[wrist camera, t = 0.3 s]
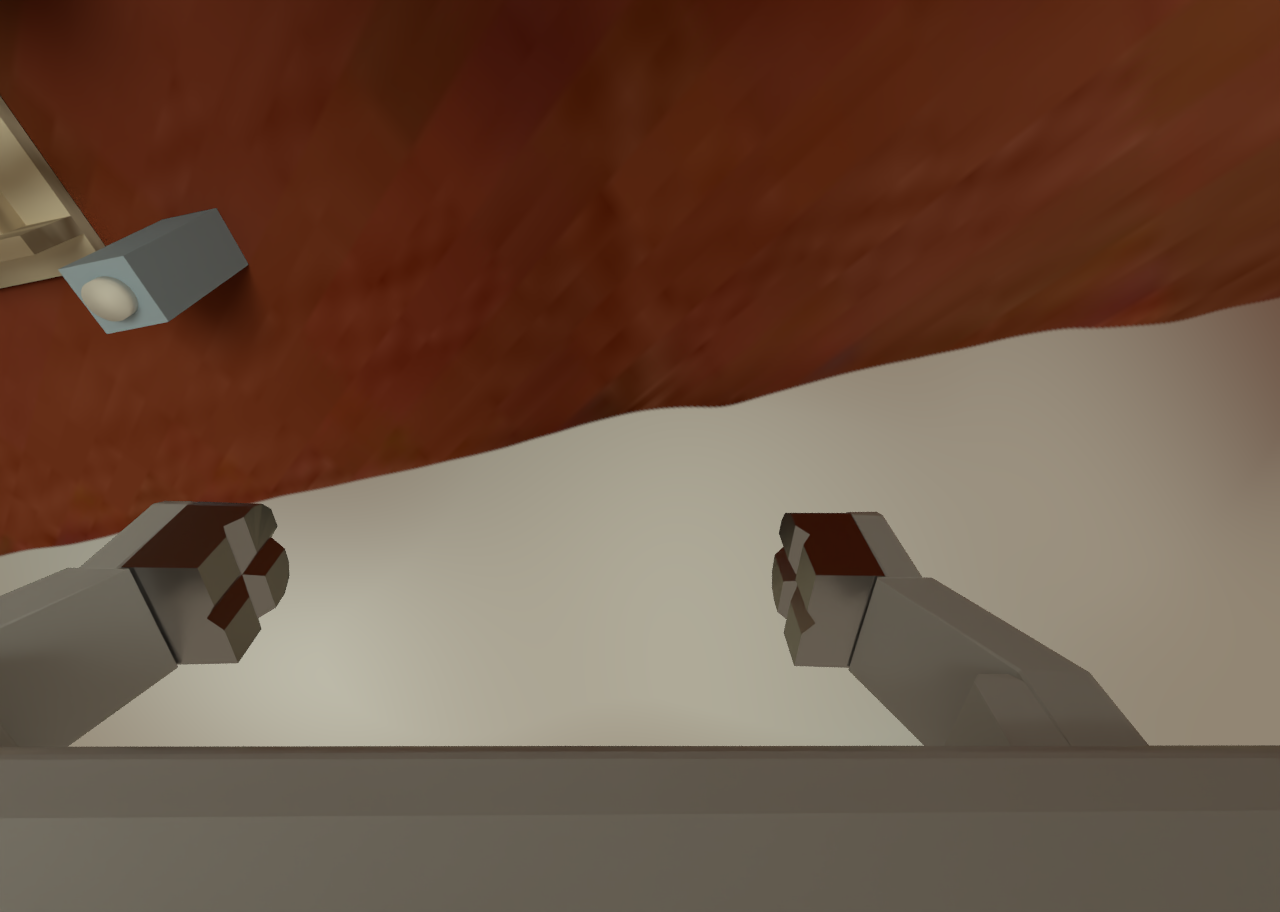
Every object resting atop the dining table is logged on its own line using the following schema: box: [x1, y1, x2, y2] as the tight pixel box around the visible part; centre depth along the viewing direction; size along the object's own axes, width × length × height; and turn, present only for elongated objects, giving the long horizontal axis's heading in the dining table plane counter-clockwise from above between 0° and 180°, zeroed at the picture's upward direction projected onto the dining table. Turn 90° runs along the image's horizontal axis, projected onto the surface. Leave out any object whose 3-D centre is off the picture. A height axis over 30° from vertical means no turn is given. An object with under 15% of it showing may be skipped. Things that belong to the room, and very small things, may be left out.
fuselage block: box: [58, 208, 249, 334], centre depth 39 cm, size 4×4×11 cm
